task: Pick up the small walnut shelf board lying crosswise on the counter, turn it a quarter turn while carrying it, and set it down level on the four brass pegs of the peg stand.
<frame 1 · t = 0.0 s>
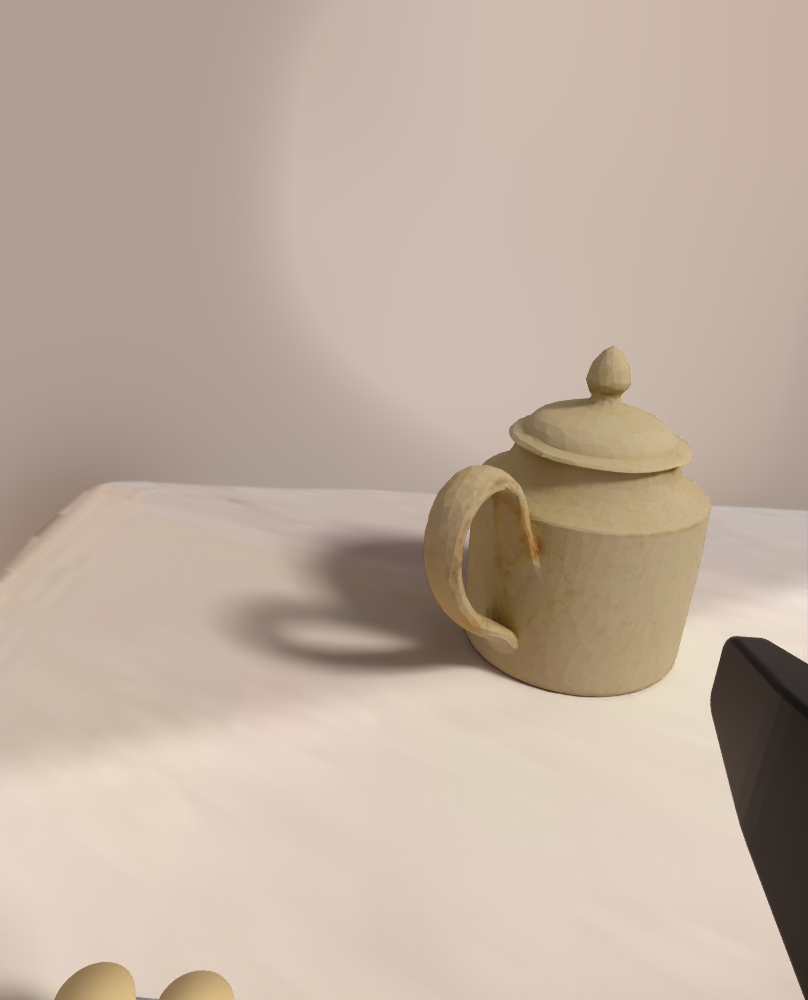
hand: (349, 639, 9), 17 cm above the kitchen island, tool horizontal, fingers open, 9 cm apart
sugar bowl: (559, 655, 38), on the kitchen island
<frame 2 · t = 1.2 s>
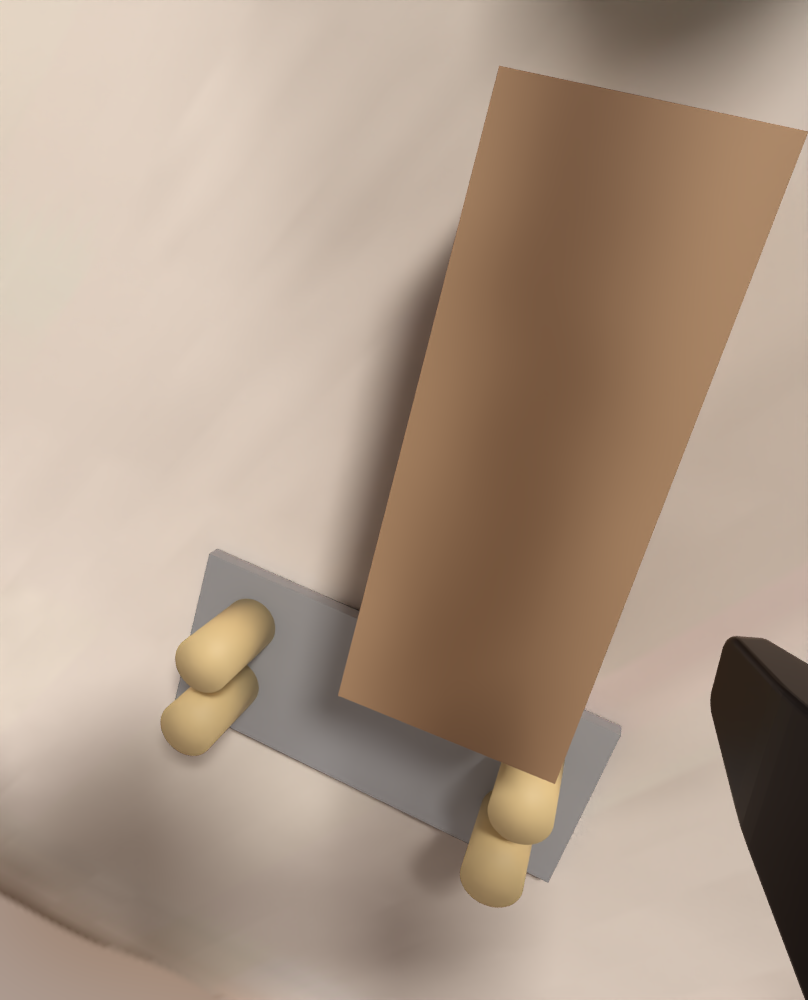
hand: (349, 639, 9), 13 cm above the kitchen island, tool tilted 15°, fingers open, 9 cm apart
board: (560, 418, 21), on the kitchen island
stand: (381, 708, 25), on the kitchen island
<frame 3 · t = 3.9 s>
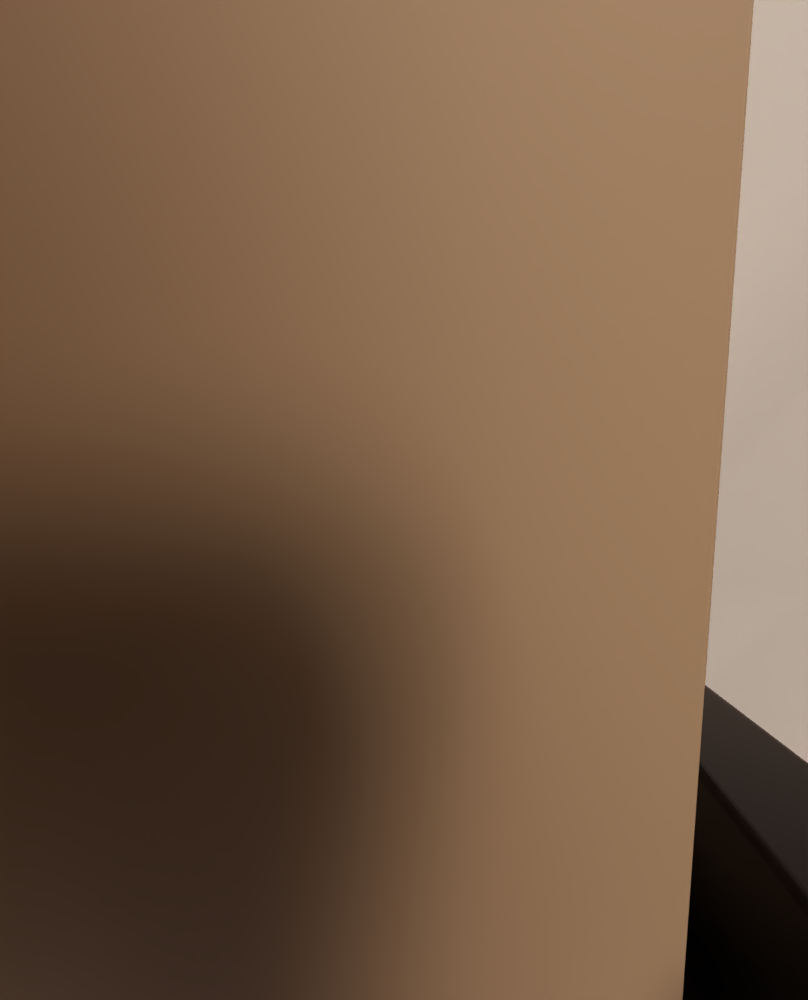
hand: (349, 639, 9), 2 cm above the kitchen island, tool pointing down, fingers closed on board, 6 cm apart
board: (361, 576, 11), on the kitchen island, touching gripper
when the fingers open (6 cm above the kitchen island, at t = 8.7 s): board stays where it is, resting on stand.
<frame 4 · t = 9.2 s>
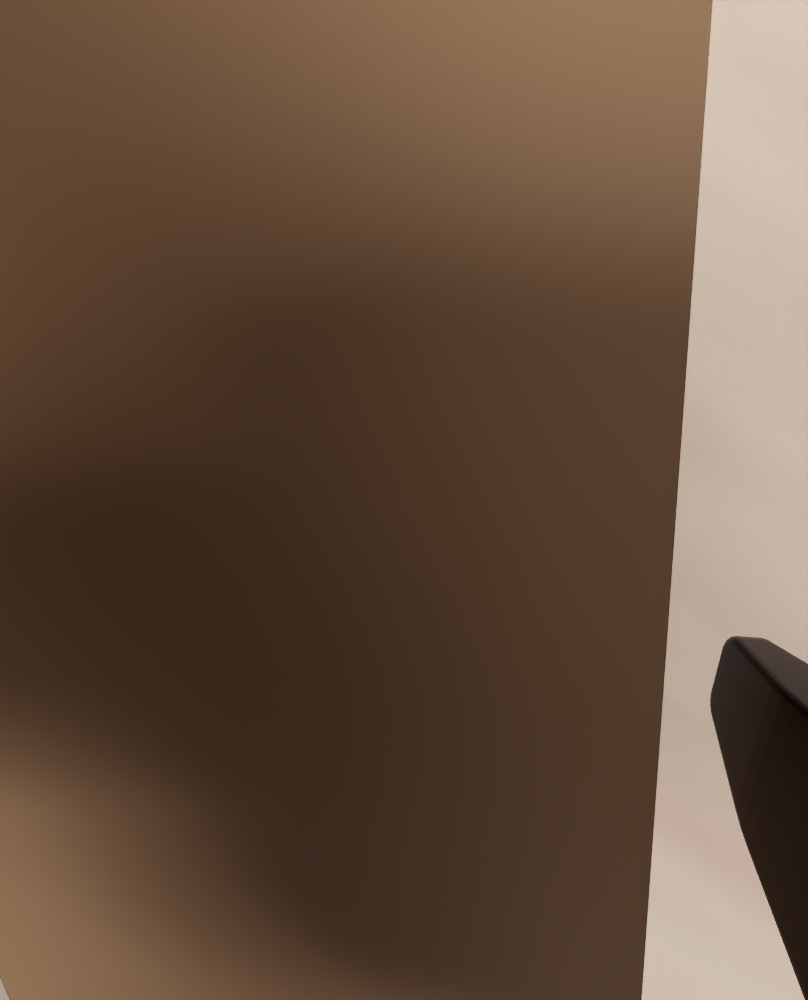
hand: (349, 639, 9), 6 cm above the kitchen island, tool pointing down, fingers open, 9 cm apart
board: (367, 545, 12), point 3 cm above the kitchen island, touching stand
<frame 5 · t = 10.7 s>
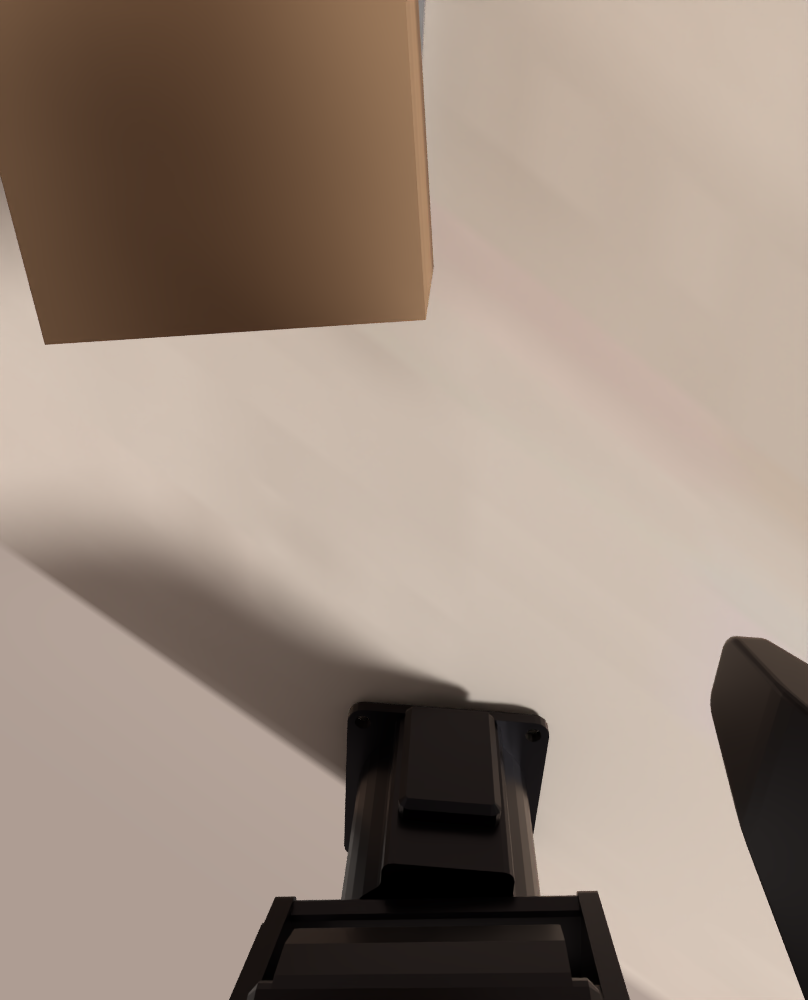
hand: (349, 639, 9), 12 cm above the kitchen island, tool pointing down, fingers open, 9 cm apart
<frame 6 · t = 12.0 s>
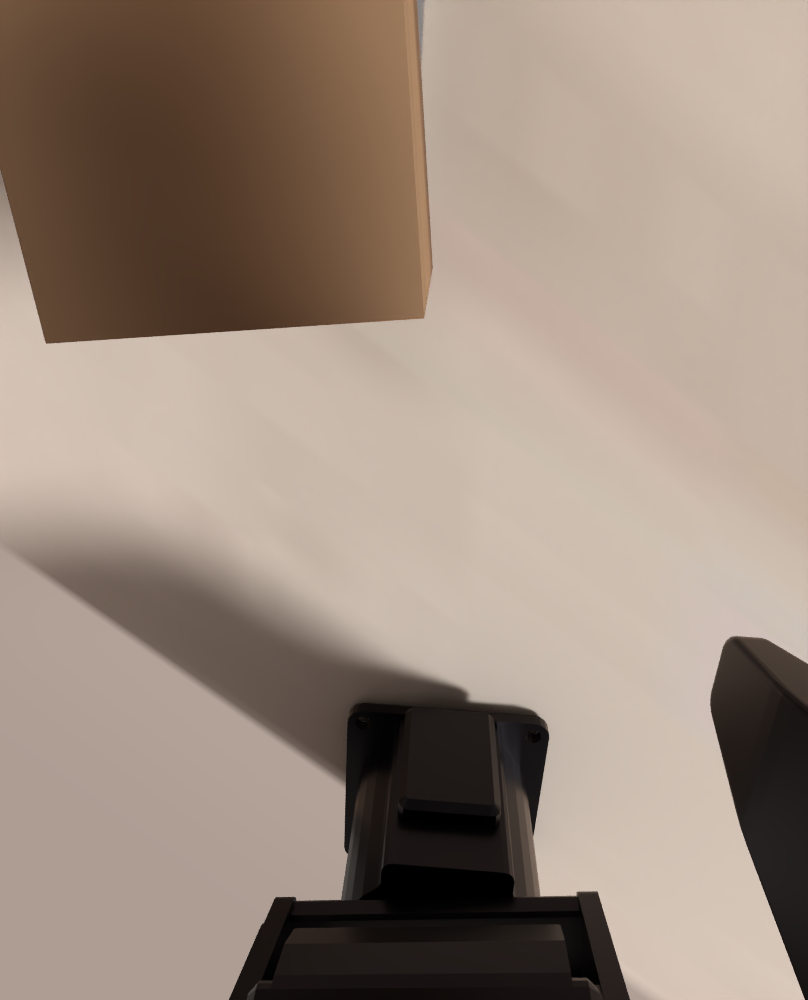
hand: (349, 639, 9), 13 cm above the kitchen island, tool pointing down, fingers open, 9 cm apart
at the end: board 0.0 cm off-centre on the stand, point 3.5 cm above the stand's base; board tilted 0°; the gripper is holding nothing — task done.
